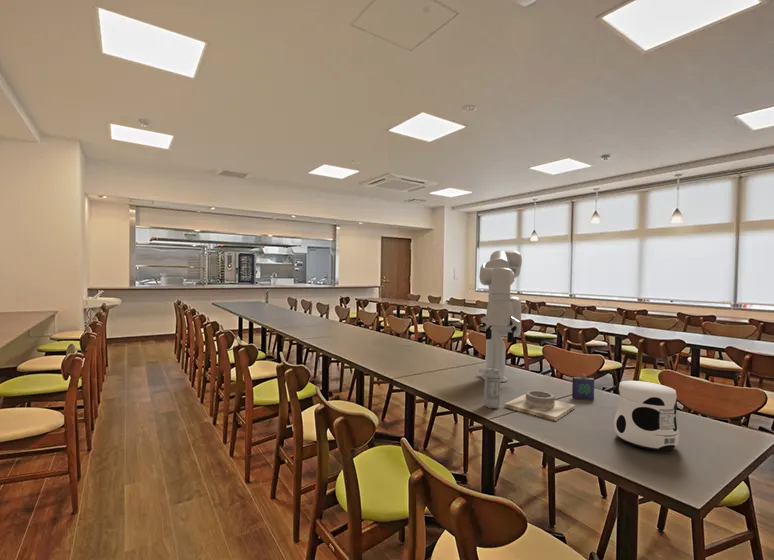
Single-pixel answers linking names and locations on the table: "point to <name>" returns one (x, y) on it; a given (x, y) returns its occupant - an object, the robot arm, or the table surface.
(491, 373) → the energy drink can
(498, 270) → the robot arm
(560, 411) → the collar board
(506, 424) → the table surface
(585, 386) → the flask
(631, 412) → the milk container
